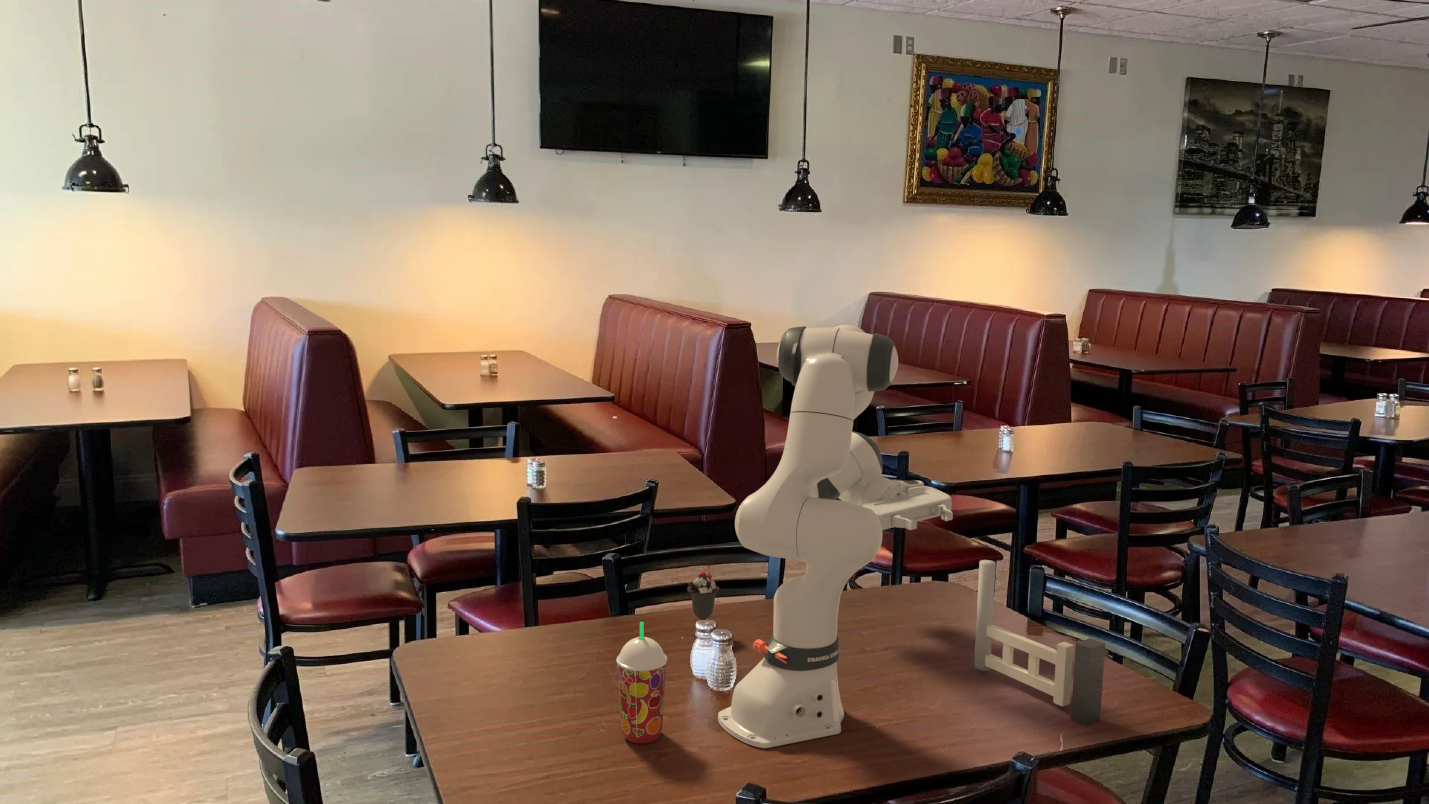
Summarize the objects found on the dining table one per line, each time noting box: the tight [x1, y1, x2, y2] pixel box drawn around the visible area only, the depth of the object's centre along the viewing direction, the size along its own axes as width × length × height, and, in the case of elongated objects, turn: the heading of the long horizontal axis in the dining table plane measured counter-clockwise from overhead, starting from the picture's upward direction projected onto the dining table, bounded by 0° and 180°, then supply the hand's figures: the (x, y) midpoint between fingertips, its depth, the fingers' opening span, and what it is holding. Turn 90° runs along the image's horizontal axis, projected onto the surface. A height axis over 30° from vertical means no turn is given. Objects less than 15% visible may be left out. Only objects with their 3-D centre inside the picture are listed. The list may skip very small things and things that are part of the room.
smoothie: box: [615, 621, 668, 744], centre depth 173 cm, size 8×8×20 cm
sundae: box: [686, 563, 720, 638], centre depth 218 cm, size 7×7×15 cm
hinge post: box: [1070, 637, 1106, 727], centre depth 181 cm, size 4×3×14 cm
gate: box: [973, 559, 1075, 707], centre depth 192 cm, size 21×3×21 cm, turn 34°
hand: (932, 521), depth 209 cm, fingers open, 8 cm apart
